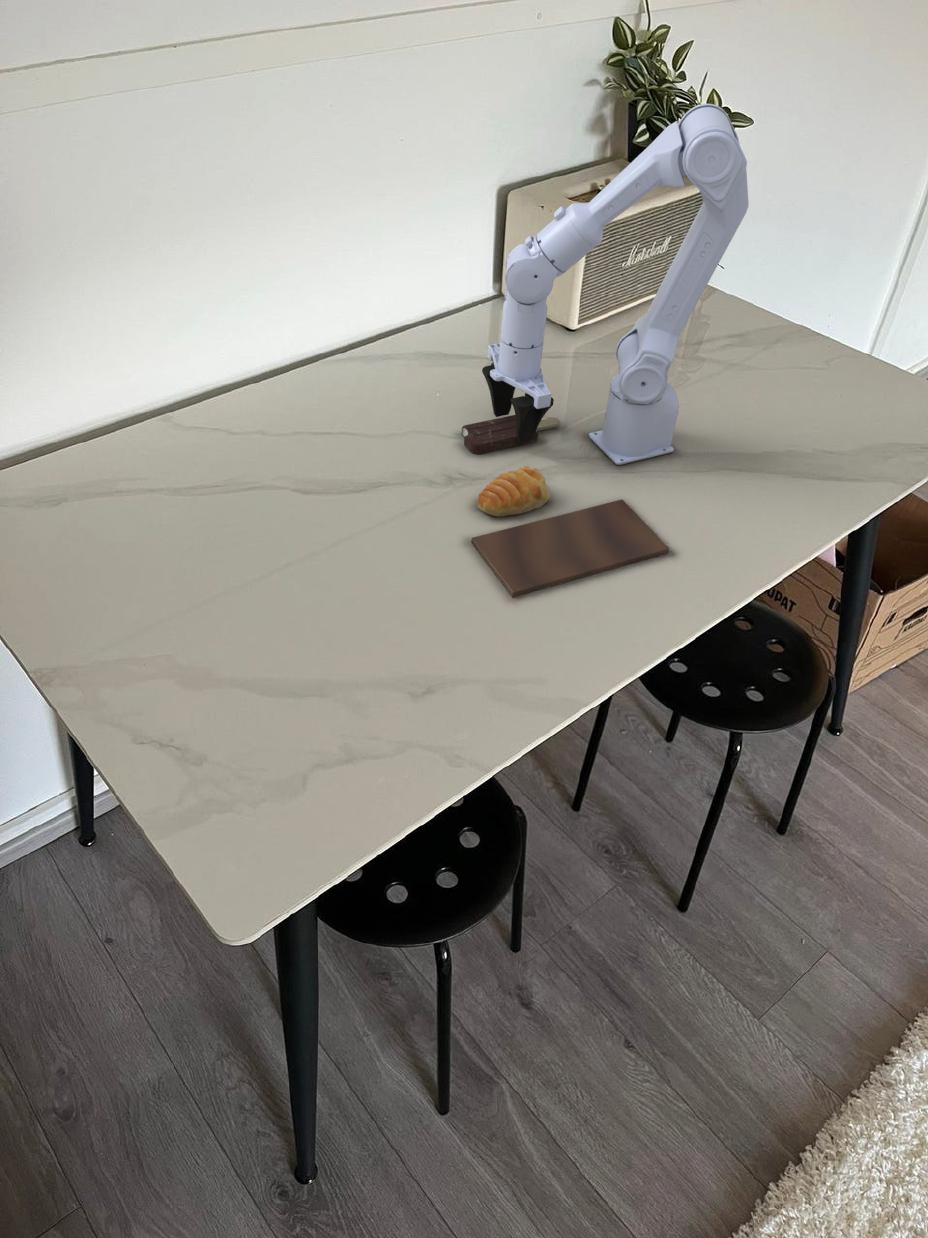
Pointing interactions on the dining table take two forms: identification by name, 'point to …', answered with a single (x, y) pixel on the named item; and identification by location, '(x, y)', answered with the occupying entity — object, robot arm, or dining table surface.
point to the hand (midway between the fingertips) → (512, 427)
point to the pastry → (514, 493)
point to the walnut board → (568, 547)
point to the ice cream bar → (498, 434)
